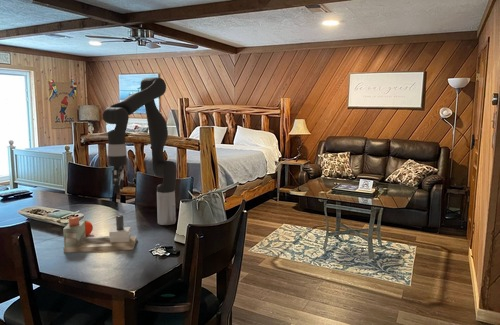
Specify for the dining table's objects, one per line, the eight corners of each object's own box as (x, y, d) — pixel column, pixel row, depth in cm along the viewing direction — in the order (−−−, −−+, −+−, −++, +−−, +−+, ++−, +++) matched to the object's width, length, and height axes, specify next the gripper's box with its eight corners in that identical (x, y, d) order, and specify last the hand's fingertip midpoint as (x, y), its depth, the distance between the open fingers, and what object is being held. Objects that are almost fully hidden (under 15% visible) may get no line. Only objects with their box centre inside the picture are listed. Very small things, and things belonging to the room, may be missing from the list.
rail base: (136, 239, 176) (136, 218, 174) (133, 249, 164) (132, 227, 163) (72, 242, 172) (71, 221, 170) (63, 252, 160) (62, 229, 158)
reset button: (80, 223, 167) (80, 216, 166) (77, 226, 163) (77, 219, 163) (70, 223, 166) (70, 216, 166) (67, 226, 162) (67, 219, 162)
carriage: (131, 237, 172) (130, 214, 171) (128, 242, 166) (128, 217, 165) (112, 238, 171) (111, 214, 169) (109, 243, 165) (108, 218, 164)
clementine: (77, 233, 184) (76, 218, 183) (92, 231, 187) (92, 217, 186) (77, 238, 177) (76, 223, 176) (93, 236, 180) (92, 222, 178)
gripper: (123, 156, 158) (125, 194, 160) (128, 152, 172) (130, 187, 174) (104, 156, 157) (106, 195, 159) (111, 152, 171) (113, 187, 173)
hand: (119, 191), depth 167 cm, fingers open, 8 cm apart
